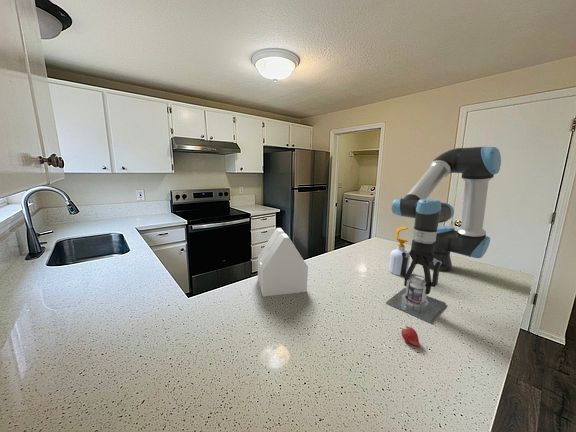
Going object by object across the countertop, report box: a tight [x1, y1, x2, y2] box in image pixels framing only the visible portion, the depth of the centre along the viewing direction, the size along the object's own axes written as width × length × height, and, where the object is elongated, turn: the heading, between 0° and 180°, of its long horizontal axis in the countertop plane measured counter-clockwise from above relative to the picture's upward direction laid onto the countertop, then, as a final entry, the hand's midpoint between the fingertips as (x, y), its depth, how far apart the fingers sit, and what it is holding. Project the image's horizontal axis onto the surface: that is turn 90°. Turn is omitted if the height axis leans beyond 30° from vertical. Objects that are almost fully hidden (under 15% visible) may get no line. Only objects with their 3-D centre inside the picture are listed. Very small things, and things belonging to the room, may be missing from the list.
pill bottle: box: [408, 276, 425, 303], centre depth 92 cm, size 5×5×9 cm
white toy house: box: [257, 227, 309, 297], centre depth 104 cm, size 19×15×25 cm
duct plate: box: [385, 287, 447, 324], centre depth 94 cm, size 18×16×3 cm
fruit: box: [401, 324, 421, 347], centre depth 73 cm, size 4×6×5 cm
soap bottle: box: [388, 226, 411, 277], centre depth 121 cm, size 9×9×25 cm
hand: (415, 297), depth 92 cm, fingers closed on pill bottle, 5 cm apart
